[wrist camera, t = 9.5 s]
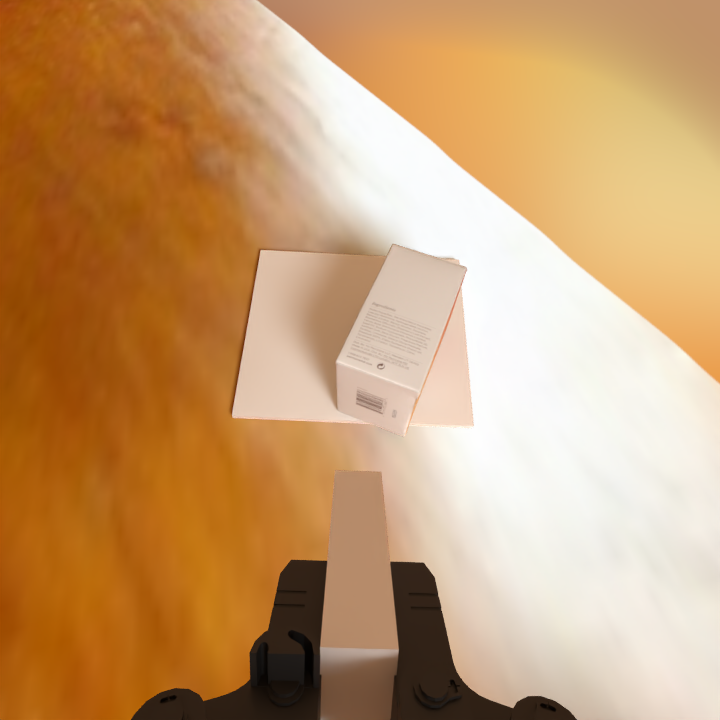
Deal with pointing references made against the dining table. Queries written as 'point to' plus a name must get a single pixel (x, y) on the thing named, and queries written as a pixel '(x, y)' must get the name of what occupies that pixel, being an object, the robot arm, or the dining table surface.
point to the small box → (396, 338)
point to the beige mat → (330, 343)
